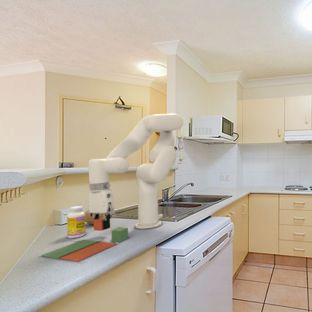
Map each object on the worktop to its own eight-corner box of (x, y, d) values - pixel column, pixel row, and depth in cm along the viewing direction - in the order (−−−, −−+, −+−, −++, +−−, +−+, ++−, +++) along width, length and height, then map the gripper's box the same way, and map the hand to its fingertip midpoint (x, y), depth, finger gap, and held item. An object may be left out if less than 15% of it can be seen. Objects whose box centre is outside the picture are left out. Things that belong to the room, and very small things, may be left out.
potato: (76, 228, 116) (76, 212, 116) (91, 220, 130) (91, 206, 130) (97, 227, 117) (97, 211, 117) (109, 220, 131) (109, 205, 131)
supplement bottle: (76, 238, 99) (75, 208, 100) (63, 238, 101) (63, 208, 101) (89, 234, 106) (88, 205, 106) (76, 233, 107) (76, 205, 107)
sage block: (119, 237, 100) (119, 227, 100) (128, 238, 99) (127, 227, 99) (111, 240, 96) (111, 230, 96) (120, 241, 95) (120, 231, 95)
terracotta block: (102, 227, 104) (101, 217, 104) (110, 227, 103) (109, 217, 103) (93, 230, 100) (93, 220, 100) (101, 230, 99) (101, 220, 99)
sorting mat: (83, 240, 97) (83, 239, 97) (116, 244, 92) (116, 243, 92) (41, 256, 81) (41, 254, 82) (78, 261, 76) (78, 260, 76)
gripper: (121, 185, 102) (124, 226, 103) (92, 185, 107) (94, 224, 108) (108, 188, 95) (110, 232, 96) (77, 188, 100) (79, 230, 100)
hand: (102, 228), depth 102 cm, fingers closed on terracotta block, 4 cm apart
